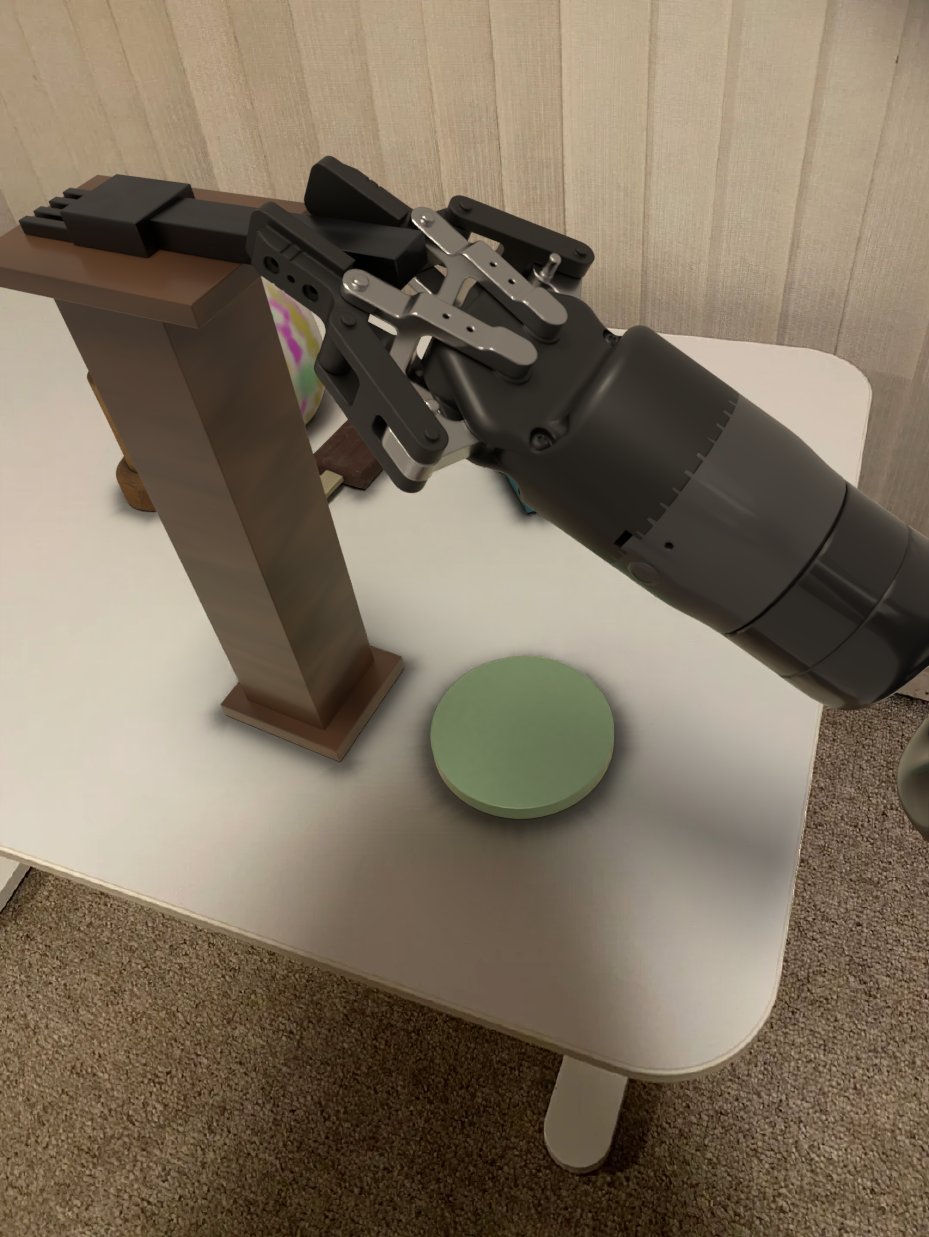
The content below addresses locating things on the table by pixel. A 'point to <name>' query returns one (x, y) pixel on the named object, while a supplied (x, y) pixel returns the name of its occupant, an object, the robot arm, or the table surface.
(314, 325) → the decorative egg
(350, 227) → the fork
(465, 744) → the plate
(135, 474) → the mortar and pestle
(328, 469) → the ice cream bar
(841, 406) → the table surface
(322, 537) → the stand
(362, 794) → the table surface
